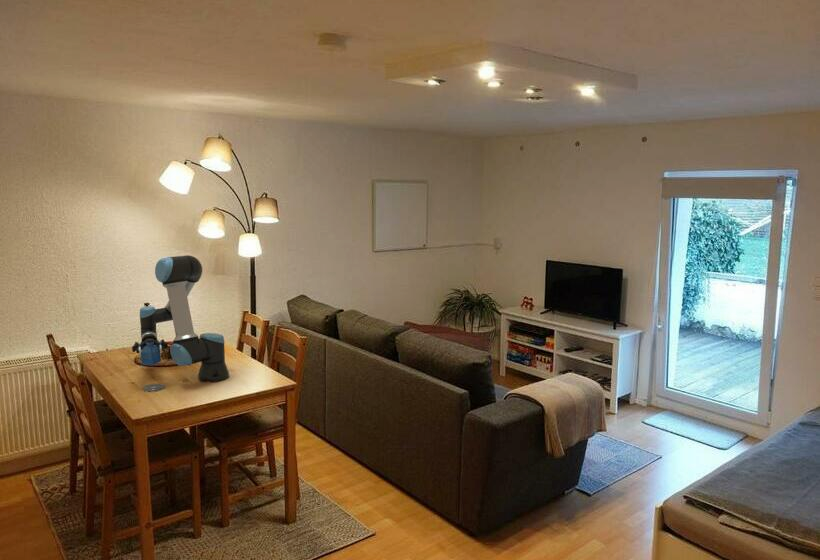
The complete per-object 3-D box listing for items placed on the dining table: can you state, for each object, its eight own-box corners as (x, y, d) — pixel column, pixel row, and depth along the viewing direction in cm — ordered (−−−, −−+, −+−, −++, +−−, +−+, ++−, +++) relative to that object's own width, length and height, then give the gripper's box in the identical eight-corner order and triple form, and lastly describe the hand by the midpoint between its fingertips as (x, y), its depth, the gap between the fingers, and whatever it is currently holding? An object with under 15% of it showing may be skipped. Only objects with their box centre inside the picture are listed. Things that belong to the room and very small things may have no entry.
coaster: (169, 386, 291) (169, 385, 291) (154, 393, 282) (154, 391, 282) (152, 383, 295) (152, 382, 294) (137, 390, 285) (137, 389, 285)
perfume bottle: (152, 365, 286) (151, 341, 284) (141, 364, 287) (139, 340, 285) (160, 361, 292) (159, 338, 290) (149, 360, 293) (148, 337, 291)
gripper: (172, 345, 310) (174, 356, 289) (126, 349, 301) (126, 361, 280) (171, 331, 308) (173, 341, 288) (125, 335, 299) (125, 346, 279)
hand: (150, 351), depth 284 cm, fingers closed on perfume bottle, 9 cm apart
